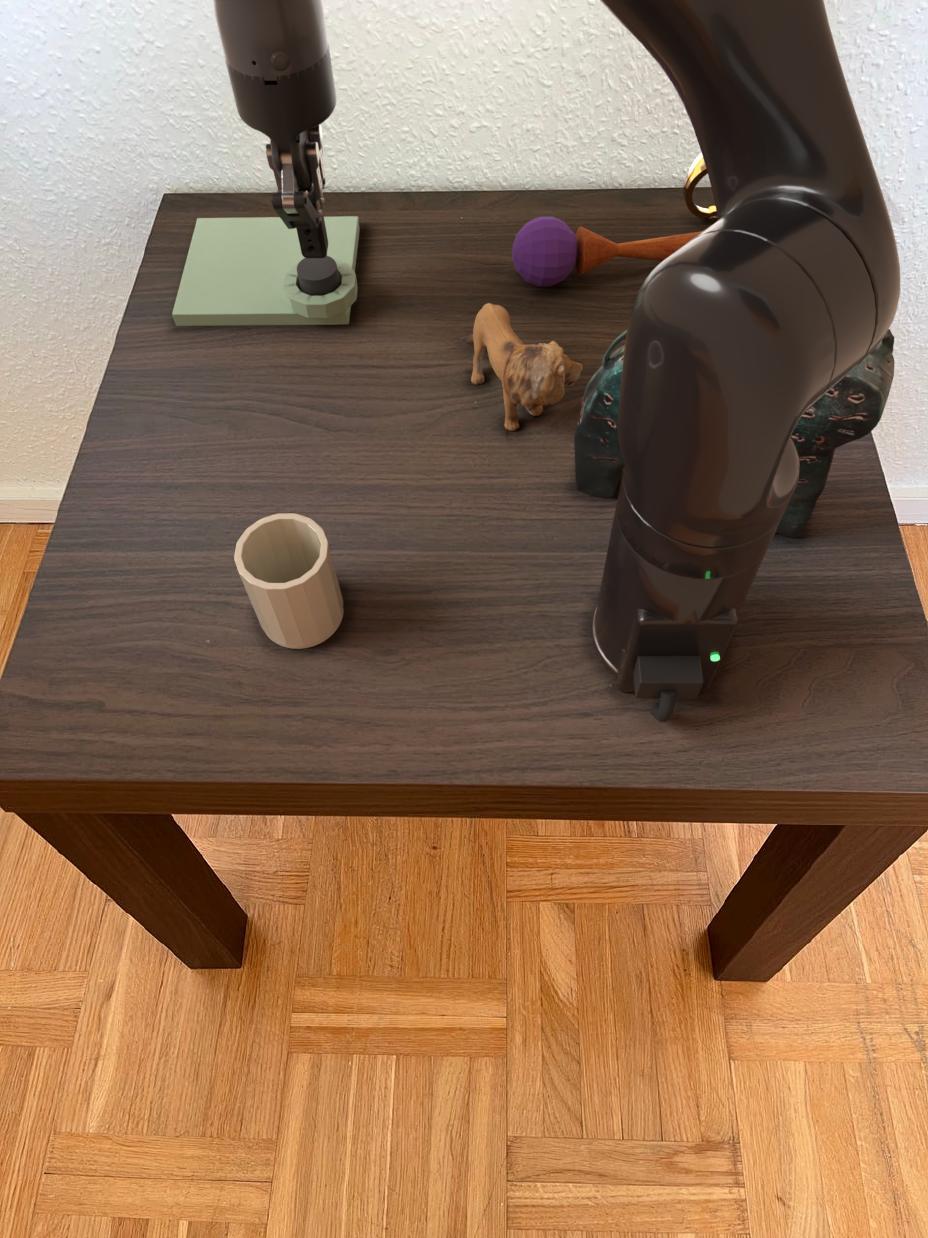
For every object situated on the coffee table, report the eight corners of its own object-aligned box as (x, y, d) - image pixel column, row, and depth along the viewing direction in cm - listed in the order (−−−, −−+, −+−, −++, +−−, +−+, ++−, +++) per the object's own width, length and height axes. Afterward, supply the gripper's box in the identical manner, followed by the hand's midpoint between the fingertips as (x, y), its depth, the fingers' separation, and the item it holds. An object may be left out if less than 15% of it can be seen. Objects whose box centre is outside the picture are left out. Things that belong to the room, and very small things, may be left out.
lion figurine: (583, 432, 76) (594, 349, 68) (531, 460, 75) (536, 378, 67) (484, 332, 83) (484, 246, 75) (435, 356, 81) (430, 271, 74)
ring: (681, 231, 89) (697, 153, 83) (673, 211, 91) (688, 133, 84) (750, 224, 90) (772, 146, 83) (742, 204, 91) (762, 126, 85)
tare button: (337, 296, 82) (334, 280, 80) (297, 296, 82) (294, 280, 80) (341, 270, 84) (338, 253, 82) (302, 270, 84) (298, 253, 82)
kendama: (740, 248, 82) (521, 254, 80) (718, 294, 87) (512, 301, 85) (727, 197, 84) (513, 202, 82) (706, 245, 89) (505, 250, 87)
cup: (340, 649, 66) (322, 588, 59) (255, 649, 66) (228, 589, 59) (347, 578, 69) (331, 512, 62) (266, 577, 69) (241, 513, 62)
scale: (356, 330, 83) (352, 303, 81) (174, 332, 84) (164, 305, 81) (367, 228, 91) (363, 200, 88) (200, 230, 91) (192, 202, 89)
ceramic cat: (825, 500, 72) (930, 291, 55) (817, 565, 69) (926, 365, 52) (579, 449, 75) (605, 237, 58) (560, 509, 72) (583, 303, 55)
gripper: (237, -2, 69) (282, 207, 84) (208, 95, 62) (263, 304, 77) (335, -4, 69) (364, 205, 83) (318, 93, 62) (352, 303, 76)
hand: (315, 252), depth 80 cm, fingers closed
